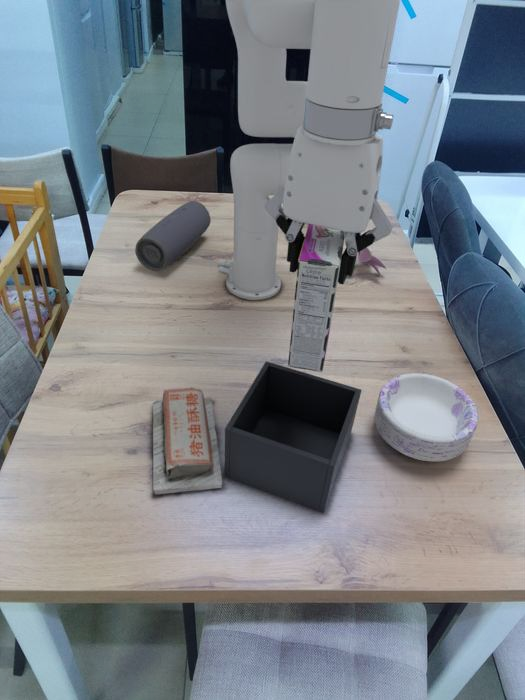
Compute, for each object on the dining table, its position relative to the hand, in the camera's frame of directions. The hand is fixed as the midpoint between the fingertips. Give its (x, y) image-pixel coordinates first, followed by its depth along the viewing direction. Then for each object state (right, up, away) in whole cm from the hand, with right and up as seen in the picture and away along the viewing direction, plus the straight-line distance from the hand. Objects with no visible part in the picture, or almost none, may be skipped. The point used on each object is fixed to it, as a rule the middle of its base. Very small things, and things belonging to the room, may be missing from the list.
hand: (319, 271), depth 63 cm
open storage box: (-3, -26, +16) cm, 31 cm away
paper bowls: (+18, -24, +21) cm, 37 cm away
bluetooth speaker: (-29, +14, +63) cm, 71 cm away
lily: (+18, +9, +61) cm, 64 cm away
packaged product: (-19, -25, +17) cm, 36 cm away
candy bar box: (-1, -9, +8) cm, 12 cm away
